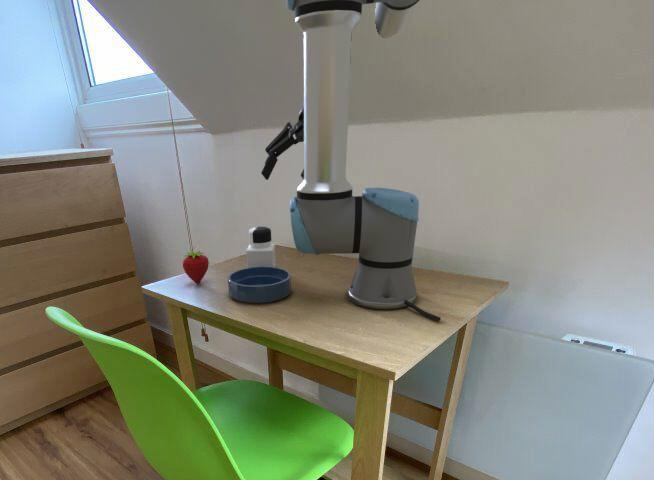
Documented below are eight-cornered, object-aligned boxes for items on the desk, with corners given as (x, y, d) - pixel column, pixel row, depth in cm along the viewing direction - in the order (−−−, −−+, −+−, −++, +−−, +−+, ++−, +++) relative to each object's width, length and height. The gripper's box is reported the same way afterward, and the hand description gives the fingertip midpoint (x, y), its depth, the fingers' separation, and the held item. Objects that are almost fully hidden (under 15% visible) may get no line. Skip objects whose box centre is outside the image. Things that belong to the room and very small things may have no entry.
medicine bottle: (275, 268, 124) (274, 224, 118) (273, 276, 118) (271, 230, 112) (251, 268, 125) (248, 225, 119) (247, 276, 119) (244, 231, 113)
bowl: (303, 293, 106) (303, 275, 104) (254, 310, 98) (253, 291, 96) (264, 279, 116) (263, 262, 114) (217, 294, 108) (215, 276, 106)
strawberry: (216, 281, 116) (212, 243, 111) (196, 290, 111) (191, 250, 106) (200, 278, 119) (195, 241, 114) (180, 286, 114) (174, 247, 109)
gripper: (361, 119, 114) (327, 189, 112) (286, 122, 128) (256, 184, 126) (351, 95, 108) (316, 169, 106) (274, 100, 122) (242, 166, 120)
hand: (283, 177), depth 116 cm, fingers open, 13 cm apart
